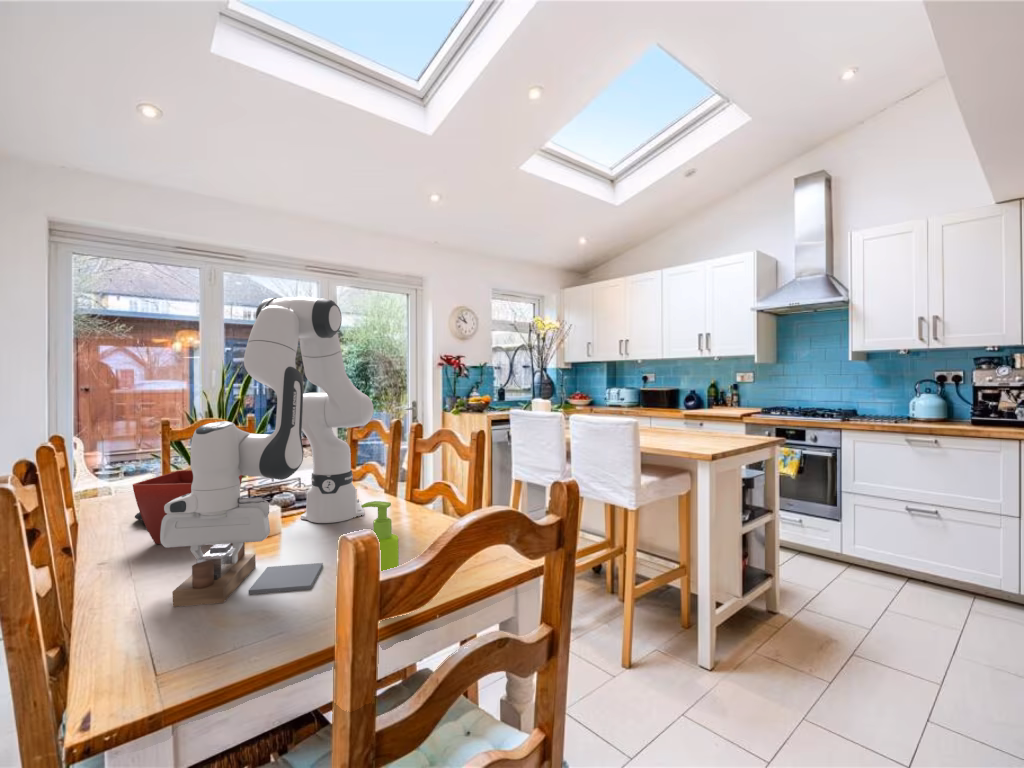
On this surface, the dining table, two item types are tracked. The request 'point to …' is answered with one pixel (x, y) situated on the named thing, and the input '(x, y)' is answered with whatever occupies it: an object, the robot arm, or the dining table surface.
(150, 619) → the dining table surface
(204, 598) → the body
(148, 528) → the plant pot
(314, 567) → the slate mat
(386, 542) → the soap dispenser
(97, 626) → the dining table surface
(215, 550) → the lever cap
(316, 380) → the robot arm
